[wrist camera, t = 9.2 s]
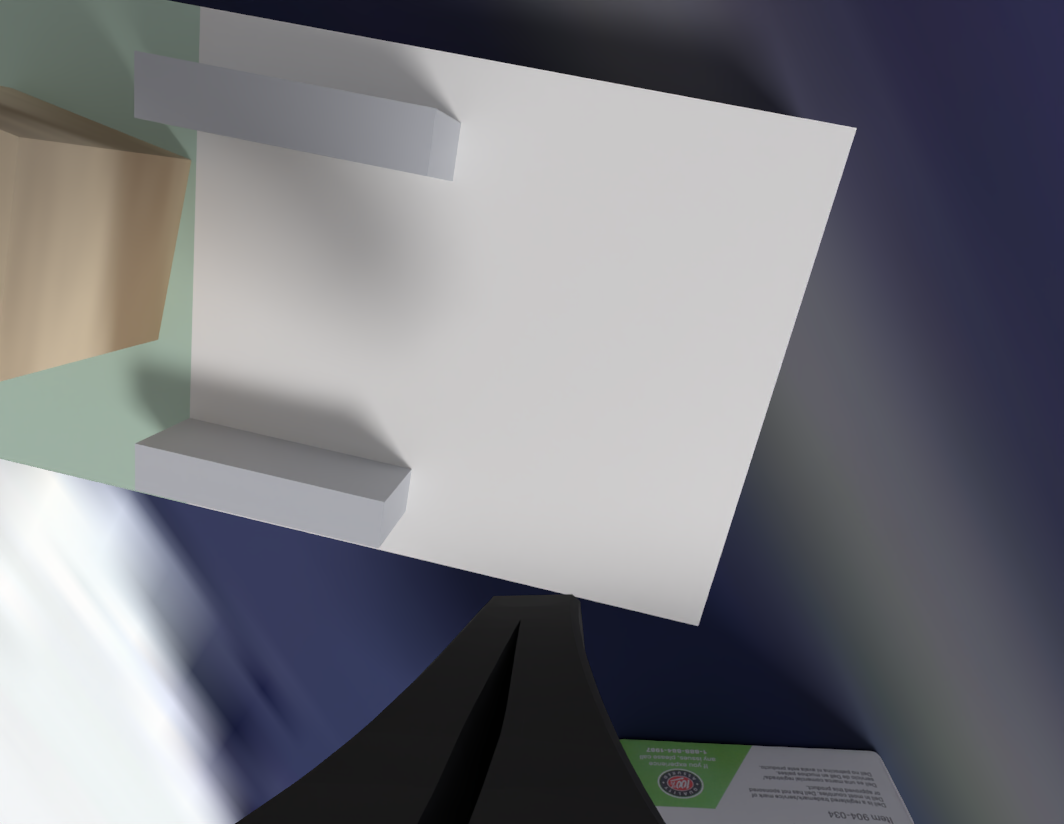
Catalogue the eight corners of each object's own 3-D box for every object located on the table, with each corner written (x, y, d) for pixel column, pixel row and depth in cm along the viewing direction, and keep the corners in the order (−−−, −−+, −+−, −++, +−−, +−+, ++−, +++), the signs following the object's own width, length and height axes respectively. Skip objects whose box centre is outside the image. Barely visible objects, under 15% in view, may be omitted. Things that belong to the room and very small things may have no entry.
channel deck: (814, 144, 16) (897, 112, 11) (686, 566, 19) (708, 678, 15) (-231, -52, 18) (-542, -151, 13) (-167, 366, 21) (-392, 409, 17)
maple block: (192, 159, 15) (19, 136, 11) (158, 339, 16) (-6, 382, 12) (12, 88, 15) (-232, 36, 11) (-6, 273, 16) (-227, 293, 12)
